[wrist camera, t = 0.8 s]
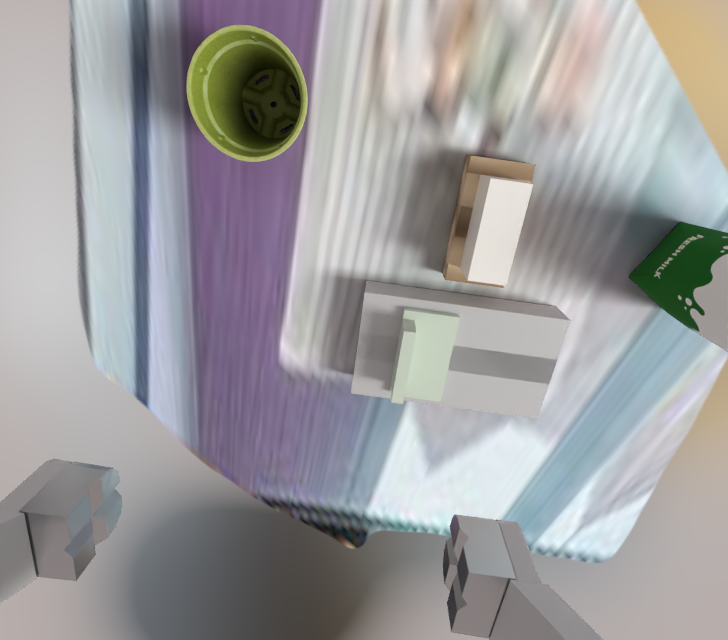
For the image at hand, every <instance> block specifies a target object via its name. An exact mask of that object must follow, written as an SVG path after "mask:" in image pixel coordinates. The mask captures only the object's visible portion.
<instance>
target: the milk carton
mask: <svg viewBox="0 0 728 640" xmlns="http://www.w3.org/2000/svg"><path fill="white" fill-rule="evenodd" d="M629 278H630V279H632V280H633V281H634V282H635V283H636V284H637V285H638V286H639V287H640V288H641V289H642V290H643V291H645V292H646V293H647V294H648V295H649V296H650V297H651V298H652V299H653V300H654V301H655V302H656V303H657V304H658V305H659V306H660V307H661V308H663V309H664V310H665V311H666V312H667V313H669V314H670V315H671V316H673V317H674V318H675V319H677V320H678V321H680V322H681V323H683V324H684V325H685V326H687V327H688V328H690V329H692V330H693V331H695V332H696V333H698V334H700V335H701V336H703V337H705V338H706V339H708V340H709V341H711V342H713V343H714V344H716V345H717V346H719V347H721V348H722V349H724V350H726V351H727V352H728V233H725V232H721V231H717V230H713V229H709V228H704V227H700V226H696V225H692V224H688V223H684V222H679V224H678V225H677V226H676V227H675V228H674V229H673V230H672V231H671V232H670V233H669V234H668V235H667V236H666V237H665V238H664V240H663V241H662V242H661V243H660V244H659V245H658V246H657V247H656V248H655V249H654V250H653V251H652V252H651V253H650V254H649V255H648V257H647V258H646V259H645V260H644V261H643V262H642V263H641V264H640V265H639V266H638V267H637V268H636V269H635V270H634V271H633V273H632V274H631V275H630V276H629Z"/></svg>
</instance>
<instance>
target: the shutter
mask: <svg viewBox="0 0 728 640" xmlns="http://www.w3.org/2000/svg"><path fill="white" fill-rule="evenodd" d="M459 319H460V317H459V315H457V314H450V313H443V312H436V311H428V310H421V309H414V308H407V307H404V311H403V317H402V323H401V329H400V334H399V340H398V346H397V352H396V357H395V363H394V369H393V374H392V380H391V386H390V395H391V402H392V403H400V404H403V401H404V397H409V398H417V399H424V400H431V401H438V402H441V398H442V393H443V389H444V385H445V380H446V376H447V372H448V367H449V363H450V359H451V354H452V350H453V346H454V341H455V337H456V333H457V328H458V324H459Z"/></svg>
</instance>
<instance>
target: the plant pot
mask: <svg viewBox="0 0 728 640" xmlns="http://www.w3.org/2000/svg"><path fill="white" fill-rule="evenodd" d="M265 75H267V76H268V79H266V80H264V81H262V82H260V83H259V84H258V85H256V81H257V80H258V79H260V78H261V77H262V76H265ZM291 85H292V86H294V87H295V89H296V90H297V92H298V94H299V100H297V99H296V97H295V94H294V92H293V90H292V88H291ZM187 98H188V103H189V107H190V110H191V113H192V116H193V118H194V120H195V122H196V124H197V126H198V127H199V129H200V130H201V132H202V133H203V135H204V136H205V137H206V138H207V140H208V141H209V142H210V143H211V144H213V145H214V146H215V147H216V148H217V149H219V150H220V151H221V152H223V153H225V154H227V155H228V156H231V157H233V158H235V159H239V160H242V161H248V162H259V161H264V160H268V159H271V158H274V157H276V156H278V155H279V154H281V153H282V152H284V151H285V150H286V149H288V148H289V147H290V146H291V145H292V143H293V142H294V141H295V139H296V138H297V137H298V135H299V133H300V131H301V129H302V127H303V124H304V121H305V118H306V113H307V105H308V96H307V87H306V82H305V79H304V76H303V73H302V70H301V68H300V66H299V64H298V62H297V60H296V58H295V57H294V55H293V54H292V53H291V51H290V50H289V49H288V48H287V47H286V46H285V45H284V44H283V43H282V42H281V41H280V40H279V39H278V38H276V37H275V36H274V35H272V34H271V33H269V32H267V31H265V30H263V29H260V28H257V27H254V26H249V25H233V26H228V27H224V28H222V29H219V30H217V31H216V32H214V33H213V34H211V35H210V36H208V37H207V38H206V39H205V40H204V41H203V42H202V43H201V45H200V46H199V47H198V48H197V50H196V52H195V53H194V55H193V57H192V60H191V63H190V66H189V70H188V74H187ZM271 102H276V106H275V107H272V106H271ZM250 109H252V110H253V113H254V115H255V117H256V119H257V120H258V124H257V123H255V122H254V121H253V119H252V117H251V115H250ZM290 124H292V128H291V129H290V130H288V131H286V132H284V133H283V132H281V131H280V130H282V129H284V128H286V127H287V126H289V125H290Z"/></svg>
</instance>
